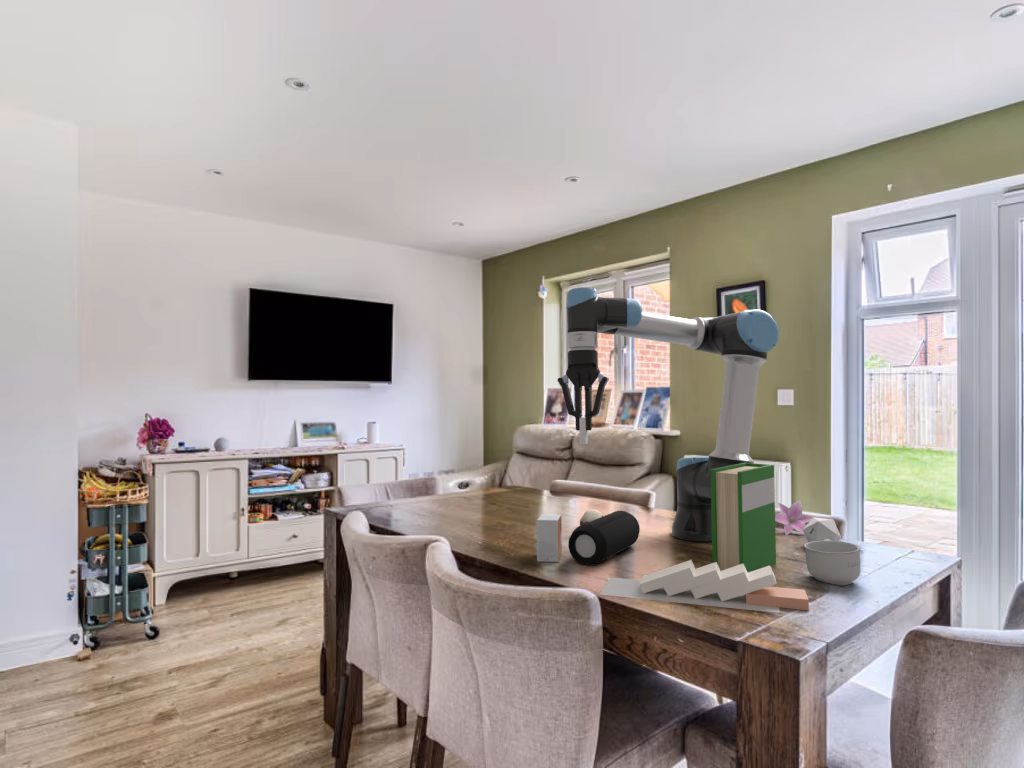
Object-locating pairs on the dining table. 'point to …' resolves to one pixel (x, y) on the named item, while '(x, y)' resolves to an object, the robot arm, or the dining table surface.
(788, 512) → the lily
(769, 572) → the domino
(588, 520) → the skull
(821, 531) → the die
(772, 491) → the hardback book
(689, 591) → the mat
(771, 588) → the domino
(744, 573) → the domino
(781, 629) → the dining table surface
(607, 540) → the portable speaker
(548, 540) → the small box
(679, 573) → the domino
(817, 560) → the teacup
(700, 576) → the domino
